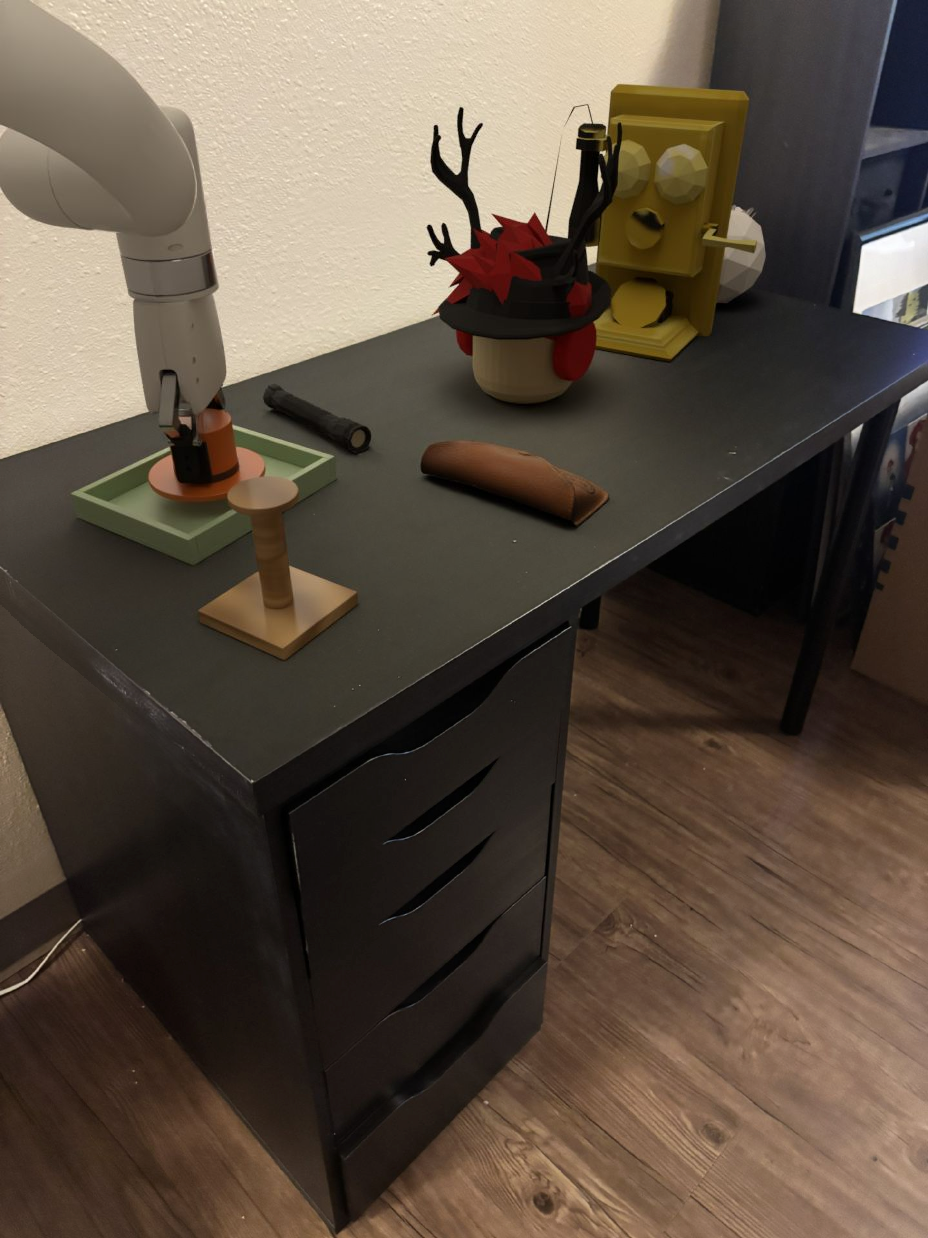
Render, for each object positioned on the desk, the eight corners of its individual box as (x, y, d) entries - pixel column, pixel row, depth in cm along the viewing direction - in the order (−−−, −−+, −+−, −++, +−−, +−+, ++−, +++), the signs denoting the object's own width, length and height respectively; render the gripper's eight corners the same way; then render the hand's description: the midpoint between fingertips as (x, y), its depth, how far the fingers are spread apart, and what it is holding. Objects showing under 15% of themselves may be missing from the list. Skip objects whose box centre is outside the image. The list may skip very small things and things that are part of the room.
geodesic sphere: (741, 242, 148) (710, 169, 138) (804, 263, 137) (776, 186, 128) (674, 308, 149) (638, 241, 139) (732, 334, 138) (697, 263, 129)
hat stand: (284, 661, 69) (266, 534, 62) (199, 622, 73) (174, 500, 66) (358, 603, 75) (349, 483, 68) (276, 571, 79) (260, 454, 72)
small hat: (207, 513, 82) (196, 456, 79) (124, 482, 87) (111, 427, 83) (289, 467, 89) (282, 413, 86) (209, 441, 94) (200, 389, 91)
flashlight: (350, 456, 97) (348, 430, 95) (263, 411, 107) (260, 386, 105) (372, 448, 99) (370, 422, 97) (284, 404, 108) (281, 380, 106)
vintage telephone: (504, 332, 129) (510, 90, 112) (545, 306, 139) (557, 79, 122) (720, 372, 117) (767, 106, 100) (749, 340, 127) (795, 93, 109)
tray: (193, 565, 79) (188, 540, 78) (77, 517, 86) (70, 493, 85) (336, 479, 93) (334, 455, 91) (226, 443, 100) (222, 421, 98)
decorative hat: (644, 387, 113) (677, 112, 95) (555, 446, 99) (575, 138, 81) (493, 349, 124) (498, 96, 106) (394, 398, 110) (380, 117, 92)
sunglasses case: (615, 491, 89) (604, 449, 84) (582, 548, 88) (568, 510, 82) (466, 445, 98) (447, 405, 92) (433, 497, 96) (411, 459, 90)
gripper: (160, 245, 84) (193, 427, 95) (88, 302, 70) (137, 508, 81) (240, 246, 84) (265, 428, 94) (183, 304, 70) (220, 510, 80)
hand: (205, 463), depth 87 cm, fingers closed on small hat, 6 cm apart
